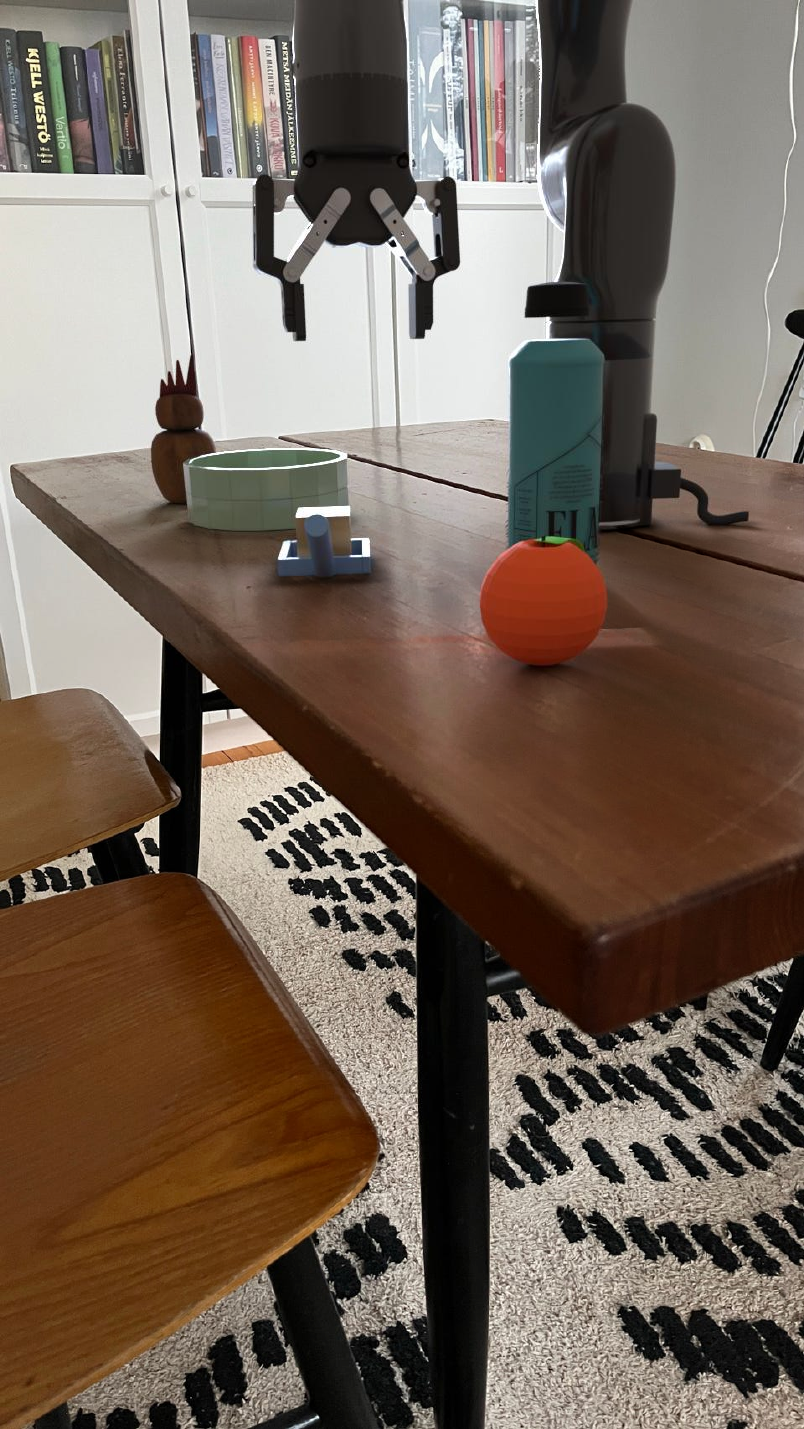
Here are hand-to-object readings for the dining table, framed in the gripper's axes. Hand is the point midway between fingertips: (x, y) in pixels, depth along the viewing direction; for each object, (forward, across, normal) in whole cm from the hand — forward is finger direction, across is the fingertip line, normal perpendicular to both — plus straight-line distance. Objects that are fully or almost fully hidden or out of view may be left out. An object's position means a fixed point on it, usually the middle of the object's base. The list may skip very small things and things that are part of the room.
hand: (359, 340), depth 75 cm
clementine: (+17, +6, -25) cm, 31 cm away
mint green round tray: (+17, -5, +23) cm, 29 cm away
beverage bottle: (+17, +11, -10) cm, 23 cm away
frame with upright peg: (+17, -4, -4) cm, 18 cm away
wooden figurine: (+17, -12, +39) cm, 44 cm away
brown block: (+16, -3, +1) cm, 16 cm away
